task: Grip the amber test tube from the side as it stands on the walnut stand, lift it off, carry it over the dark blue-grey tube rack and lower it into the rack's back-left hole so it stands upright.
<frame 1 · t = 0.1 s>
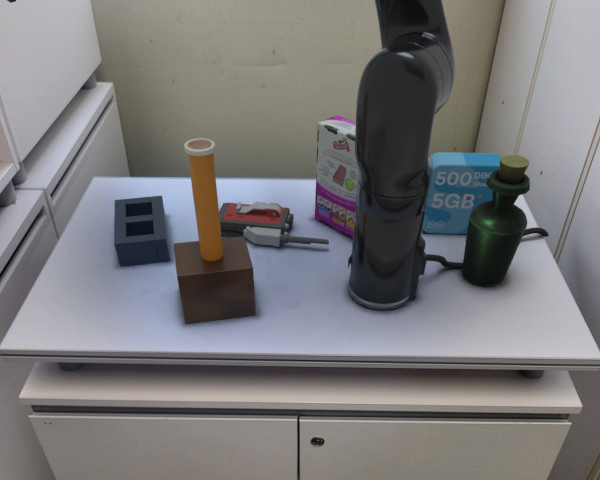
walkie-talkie: (271, 234, 99), on the table
test tube: (212, 255, 80), point 8 cm above the table, touching stand
rack: (143, 240, 97), on the table
stand: (217, 302, 86), on the table
data package: (453, 228, 101), on the table
potion bottle: (482, 275, 91), on the table
candy bar box: (346, 227, 101), on the table
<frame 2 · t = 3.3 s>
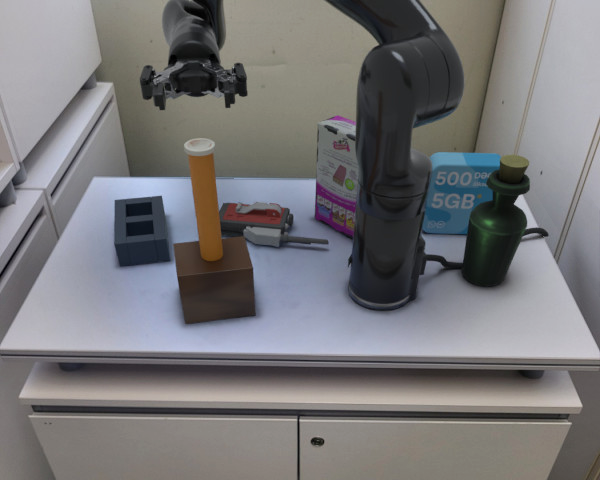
hand: (194, 101, 76), 24 cm above the table, tool horizontal, fingers open, 8 cm apart
nothing on the table moved.
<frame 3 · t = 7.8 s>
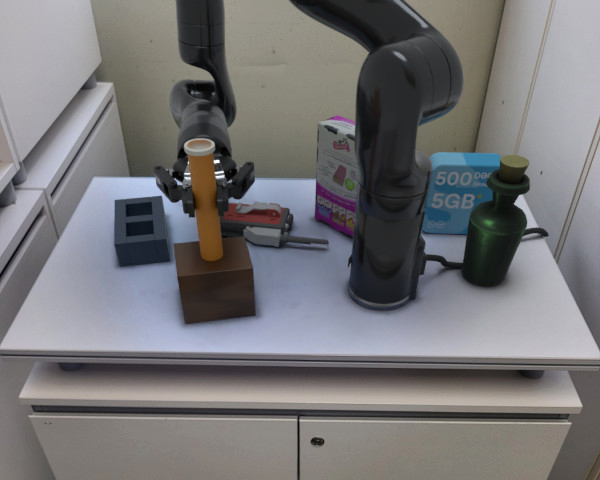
hand: (206, 209, 72), 16 cm above the table, tool horizontal, fingers closed on test tube, 3 cm apart
test tube: (212, 255, 80), point 8 cm above the table, touching gripper, stand
everything else where it was.
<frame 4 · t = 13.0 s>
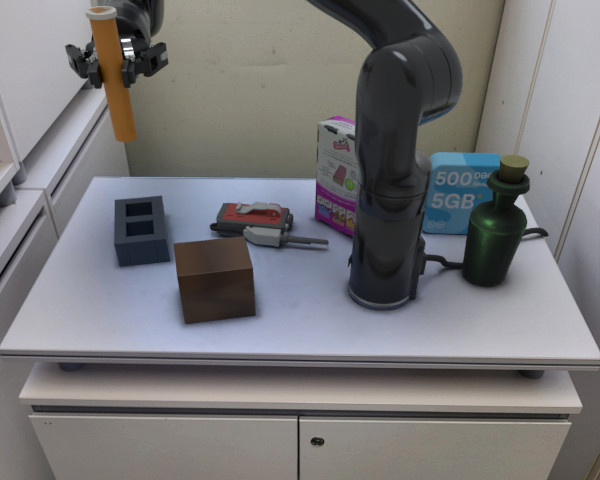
hand: (111, 79, 73), 27 cm above the table, tool horizontal, fingers closed on test tube, 3 cm apart
test tube: (126, 137, 81), point 18 cm above the table, touching gripper
everything else where it was.
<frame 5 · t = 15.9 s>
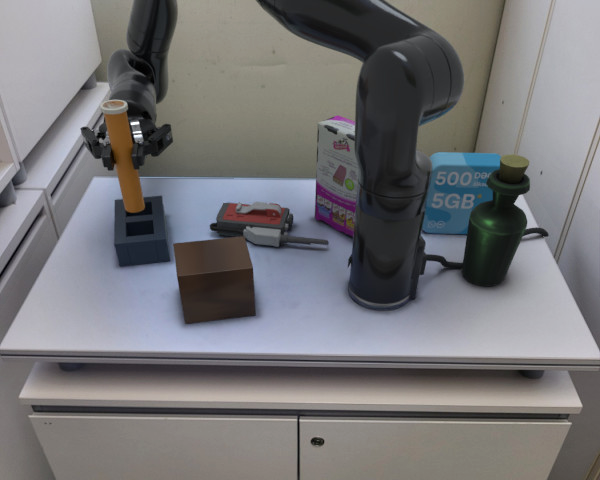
hand: (122, 163, 82), 16 cm above the table, tool horizontal, fingers closed on test tube, 3 cm apart
test tube: (135, 207, 90), point 7 cm above the table, touching gripper
everything else where it was.
when the fingers open (8 cm above the table, at t = 18.2 s): test tube stays where it is, resting in rack.
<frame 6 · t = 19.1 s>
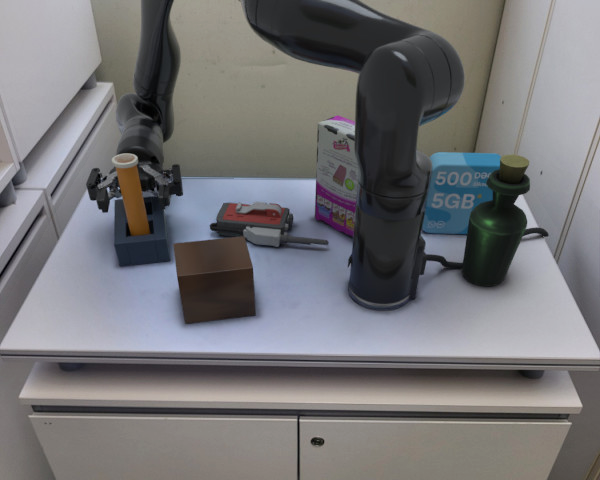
hand: (132, 205, 87), 9 cm above the table, tool horizontal, fingers open, 8 cm apart
test tube: (143, 250, 95), resting in rack
everything else where it was.
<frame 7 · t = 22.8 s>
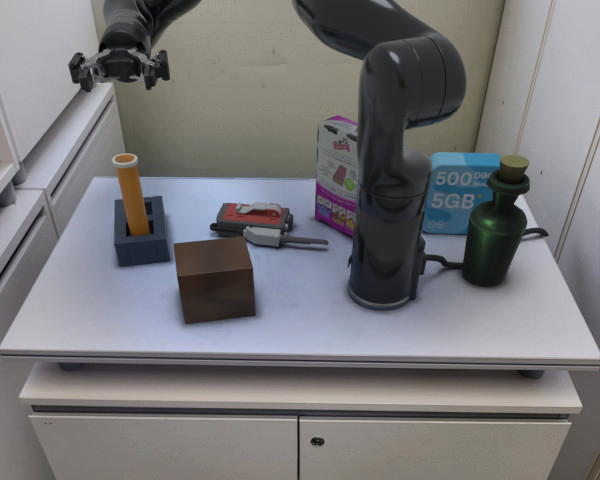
hand: (117, 84, 83), 23 cm above the table, tool horizontal, fingers open, 8 cm apart
nothing on the table moved.
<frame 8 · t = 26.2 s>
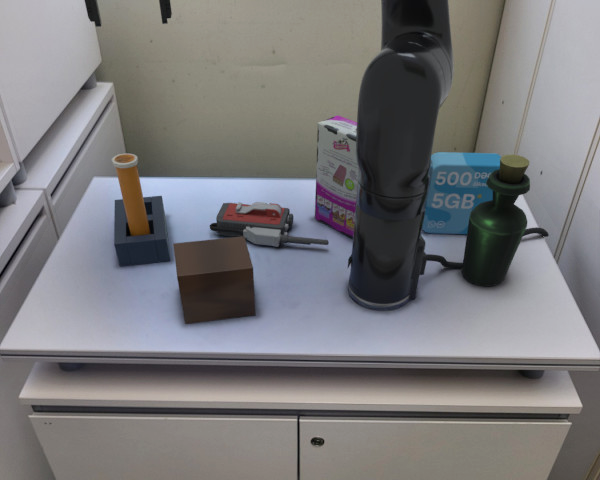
hand: (132, 23, 78), 30 cm above the table, tool pointing down, fingers open, 8 cm apart
nothing on the table moved.
at the end: test tube 0.1 cm from the target spot in the rack, point 0.0 cm above the rack's base; test tube tilted 0°; the gripper is holding nothing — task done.
